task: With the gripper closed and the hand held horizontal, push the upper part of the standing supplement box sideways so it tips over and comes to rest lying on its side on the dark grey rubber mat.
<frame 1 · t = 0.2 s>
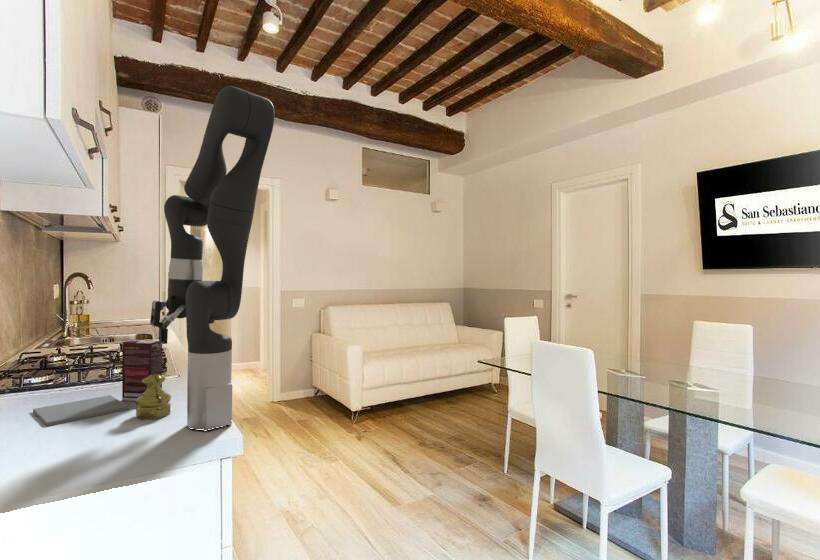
hand: (182, 341, 106), 18 cm above the countertop, tool pointing down, fingers open, 8 cm apart
supplement box: (142, 399, 116), on the countertop
brass knobbed piece: (153, 415, 104), on the countertop
rubber mat: (81, 410, 106), on the countertop
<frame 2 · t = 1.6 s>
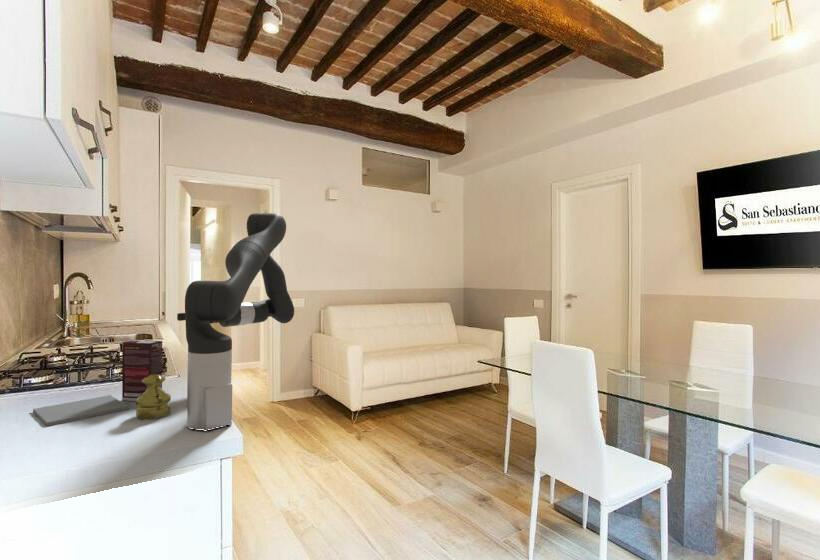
hand: (183, 318, 124), 21 cm above the countertop, tool horizontal, fingers open, 7 cm apart
nothing on the countertop moved.
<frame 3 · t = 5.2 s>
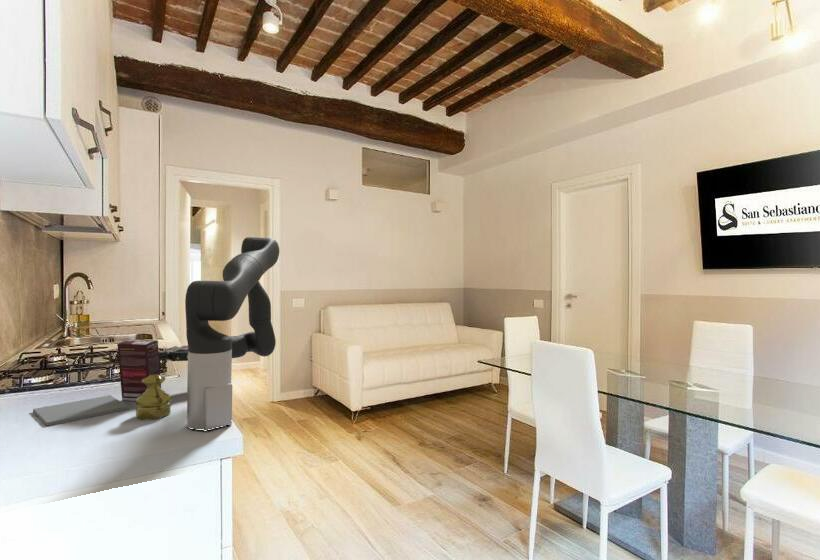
hand: (150, 357, 118), 11 cm above the countertop, tool horizontal, fingers closed
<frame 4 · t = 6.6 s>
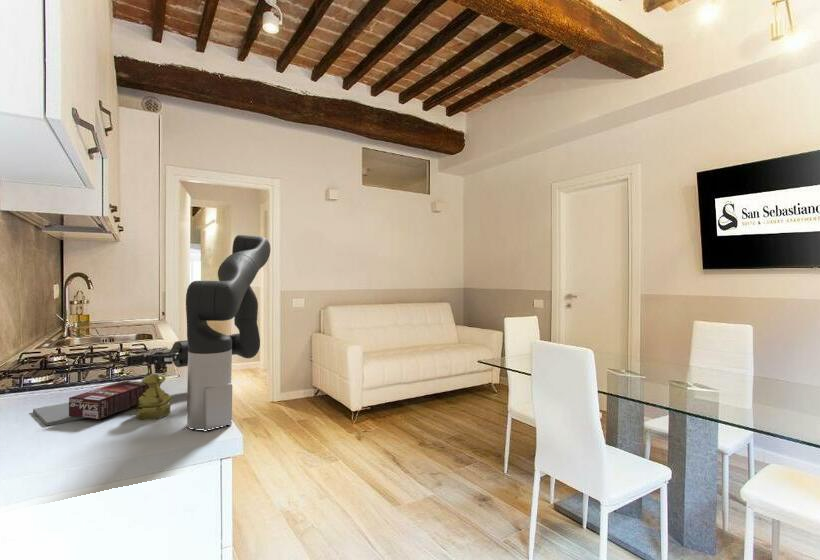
hand: (126, 360, 113), 11 cm above the countertop, tool horizontal, fingers closed
supplement box: (138, 389, 114), point 3 cm above the countertop, touching rubber mat
everything else where it was.
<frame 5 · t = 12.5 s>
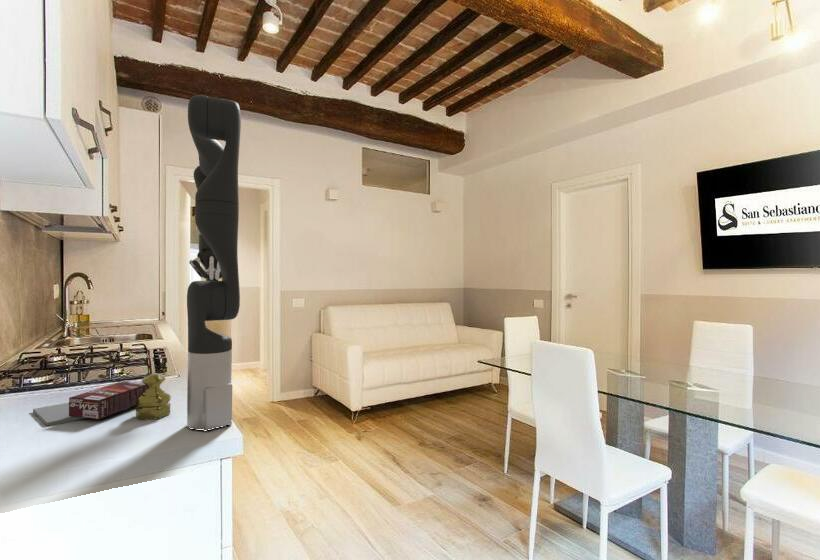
hand: (212, 292, 127), 29 cm above the countertop, tool pointing down, fingers closed
nothing on the countertop moved.
at the end: supplement box tilted 91°; supplement box inside the target area (7.7 cm from its centre), point 3.3 cm above the countertop; the gripper is holding nothing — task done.
